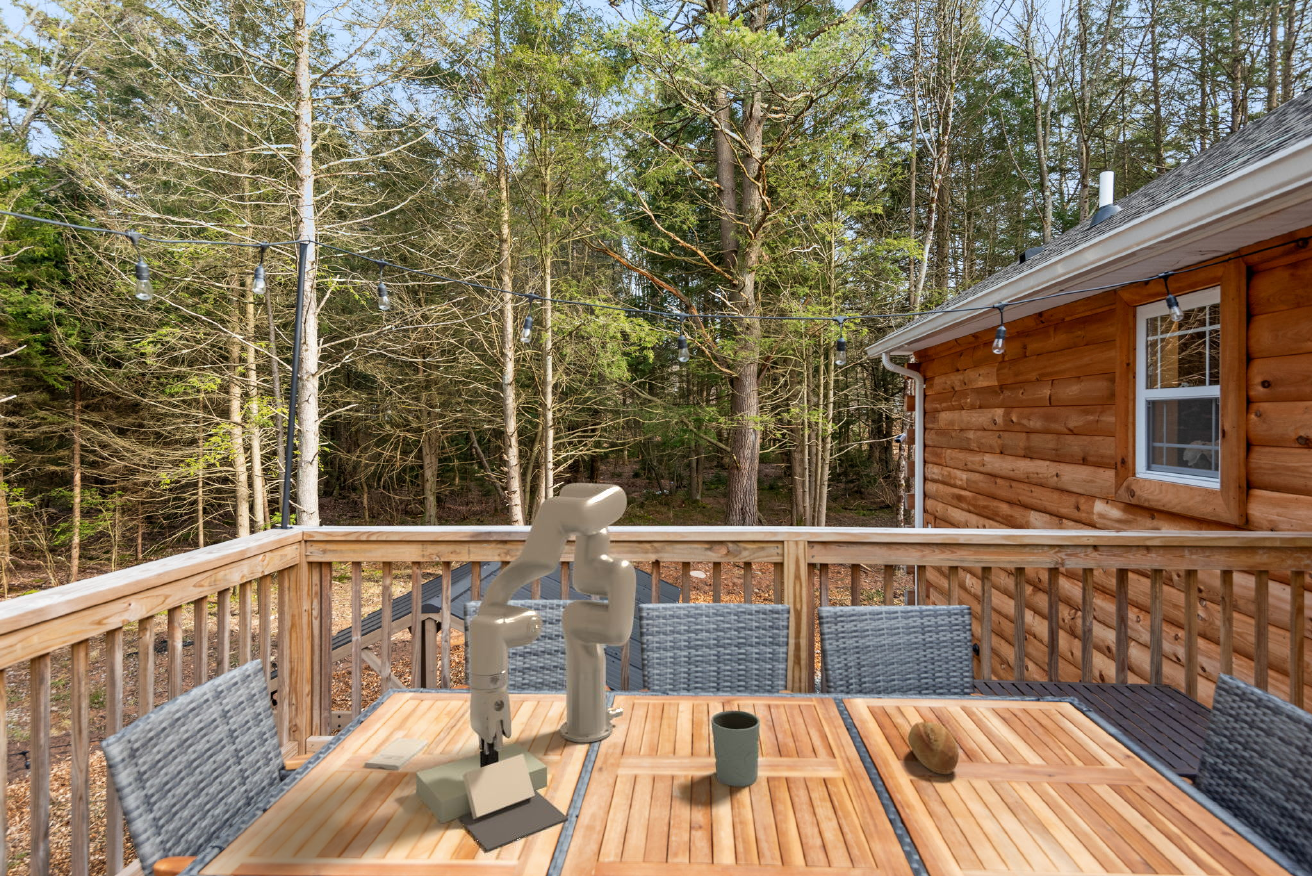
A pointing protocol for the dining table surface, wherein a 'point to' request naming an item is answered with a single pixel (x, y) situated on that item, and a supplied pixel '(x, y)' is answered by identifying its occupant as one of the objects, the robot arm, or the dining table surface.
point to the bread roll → (934, 747)
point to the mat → (513, 822)
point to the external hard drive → (397, 753)
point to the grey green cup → (736, 747)
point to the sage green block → (448, 789)
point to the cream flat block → (498, 786)
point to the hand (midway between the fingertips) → (489, 770)
